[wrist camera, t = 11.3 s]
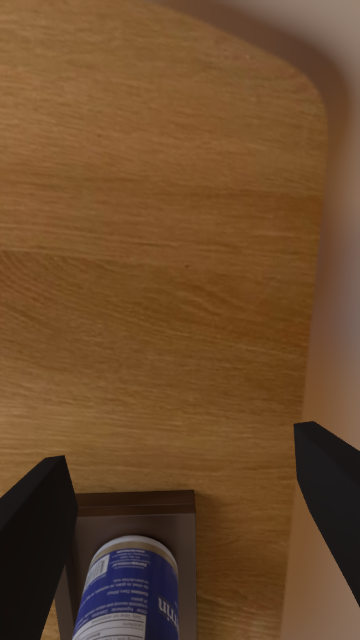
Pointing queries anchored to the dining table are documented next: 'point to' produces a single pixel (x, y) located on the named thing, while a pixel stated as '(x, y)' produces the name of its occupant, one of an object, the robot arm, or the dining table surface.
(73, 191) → the dining table surface
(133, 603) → the pill bottle
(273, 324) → the dining table surface
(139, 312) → the dining table surface
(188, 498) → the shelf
